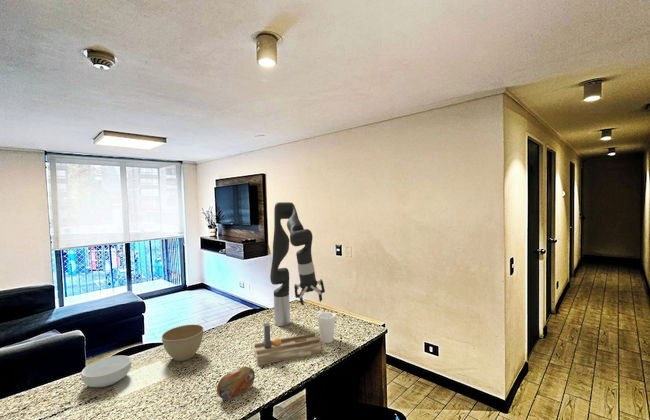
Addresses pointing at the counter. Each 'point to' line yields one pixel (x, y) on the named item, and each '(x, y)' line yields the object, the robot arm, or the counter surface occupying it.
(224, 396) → the tin
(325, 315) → the foam cup
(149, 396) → the counter surface
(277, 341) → the ball
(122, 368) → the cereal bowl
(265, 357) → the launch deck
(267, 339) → the plunger
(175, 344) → the deep beige bowl
